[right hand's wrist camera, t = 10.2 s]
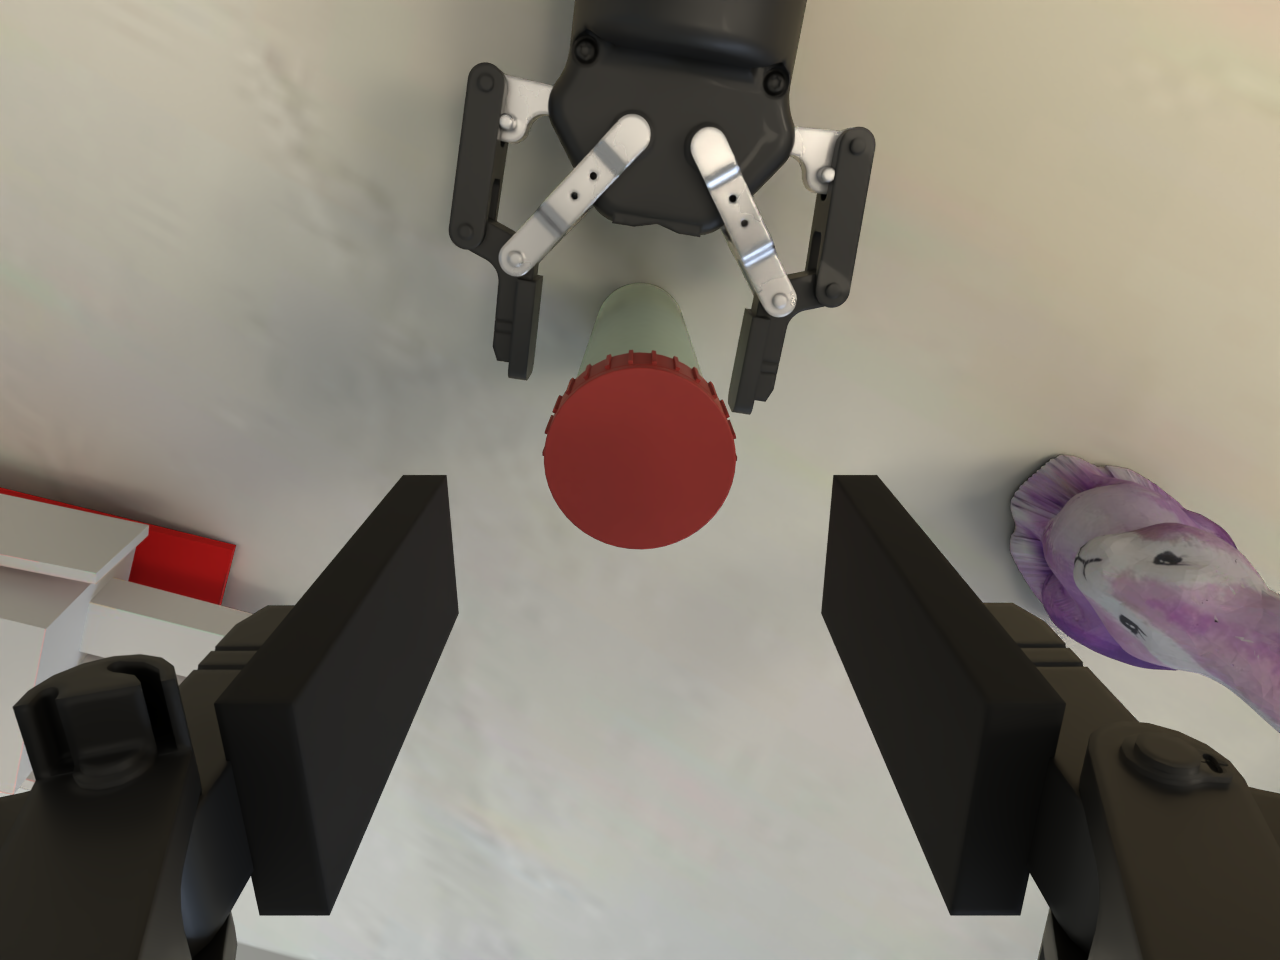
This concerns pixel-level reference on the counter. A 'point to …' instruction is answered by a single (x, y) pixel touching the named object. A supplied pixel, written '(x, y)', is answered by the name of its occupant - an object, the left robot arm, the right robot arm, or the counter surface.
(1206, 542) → the figurine
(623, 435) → the lid
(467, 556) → the counter surface
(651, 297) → the bottle
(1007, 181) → the counter surface
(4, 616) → the toy
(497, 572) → the counter surface
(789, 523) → the counter surface
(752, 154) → the left robot arm
